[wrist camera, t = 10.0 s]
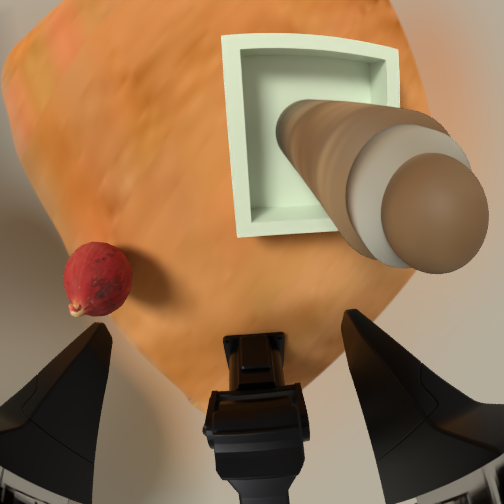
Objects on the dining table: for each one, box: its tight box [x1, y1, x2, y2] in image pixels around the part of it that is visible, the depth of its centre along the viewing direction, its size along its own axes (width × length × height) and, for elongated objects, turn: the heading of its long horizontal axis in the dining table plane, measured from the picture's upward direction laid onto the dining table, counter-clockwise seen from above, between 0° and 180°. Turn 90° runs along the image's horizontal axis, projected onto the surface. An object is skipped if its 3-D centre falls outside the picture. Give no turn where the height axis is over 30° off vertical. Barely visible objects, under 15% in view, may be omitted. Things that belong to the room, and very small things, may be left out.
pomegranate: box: [64, 242, 132, 318], centre depth 19 cm, size 6×6×8 cm
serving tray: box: [221, 33, 400, 238], centre depth 16 cm, size 13×11×4 cm
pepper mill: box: [275, 99, 489, 274], centre depth 11 cm, size 5×5×15 cm
